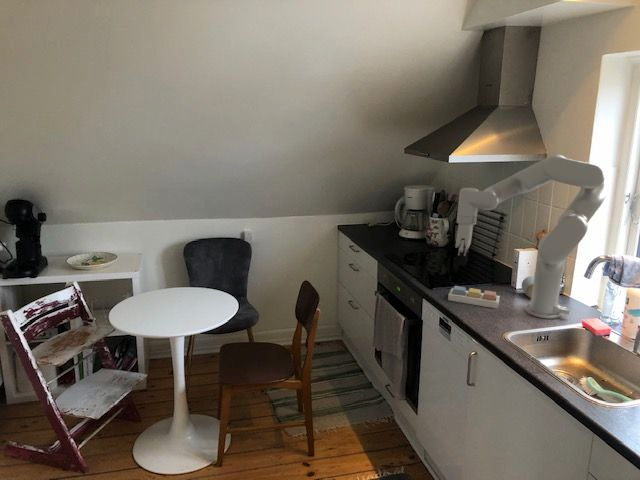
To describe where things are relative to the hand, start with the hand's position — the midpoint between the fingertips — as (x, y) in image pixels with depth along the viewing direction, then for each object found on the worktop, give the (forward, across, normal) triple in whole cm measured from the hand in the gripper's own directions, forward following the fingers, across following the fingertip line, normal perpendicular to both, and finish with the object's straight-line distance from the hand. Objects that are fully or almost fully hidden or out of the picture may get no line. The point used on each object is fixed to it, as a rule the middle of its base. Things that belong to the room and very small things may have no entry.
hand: (462, 262), depth 205 cm
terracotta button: (+14, 0, +12) cm, 18 cm away
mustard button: (+14, 0, +6) cm, 15 cm away
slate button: (+14, 0, 0) cm, 14 cm away
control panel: (+15, 0, +6) cm, 17 cm away
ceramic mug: (+16, -18, +29) cm, 37 cm away
